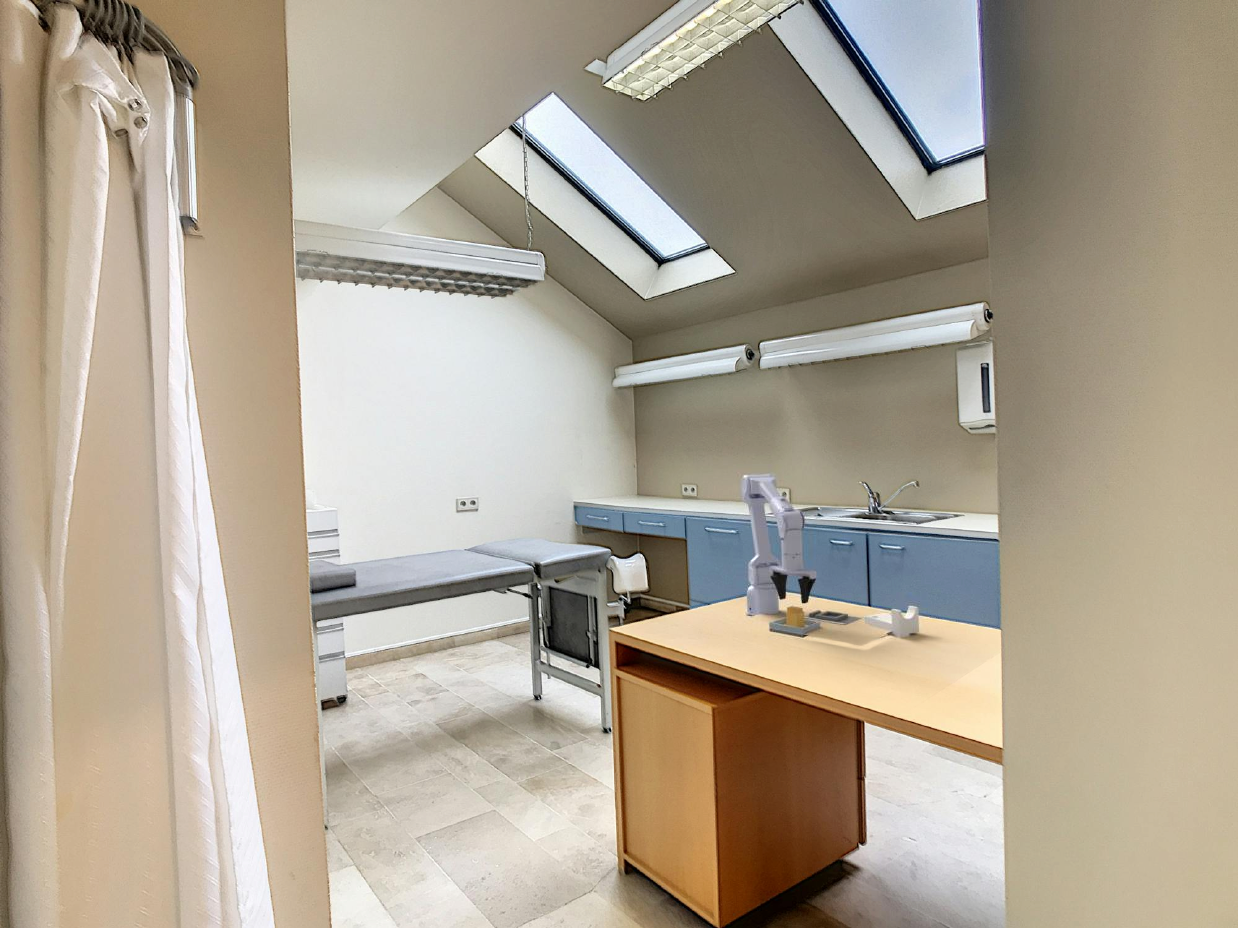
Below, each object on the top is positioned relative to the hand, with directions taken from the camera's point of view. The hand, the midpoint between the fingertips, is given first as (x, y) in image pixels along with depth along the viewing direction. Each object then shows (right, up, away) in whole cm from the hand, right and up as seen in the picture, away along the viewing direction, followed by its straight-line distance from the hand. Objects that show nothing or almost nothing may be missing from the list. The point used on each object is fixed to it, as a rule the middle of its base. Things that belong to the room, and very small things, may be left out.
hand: (793, 600), depth 202 cm
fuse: (+1, -8, 0) cm, 8 cm away
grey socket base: (+13, -8, +8) cm, 18 cm away
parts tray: (0, -9, 0) cm, 9 cm away
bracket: (+26, -8, -4) cm, 28 cm away
